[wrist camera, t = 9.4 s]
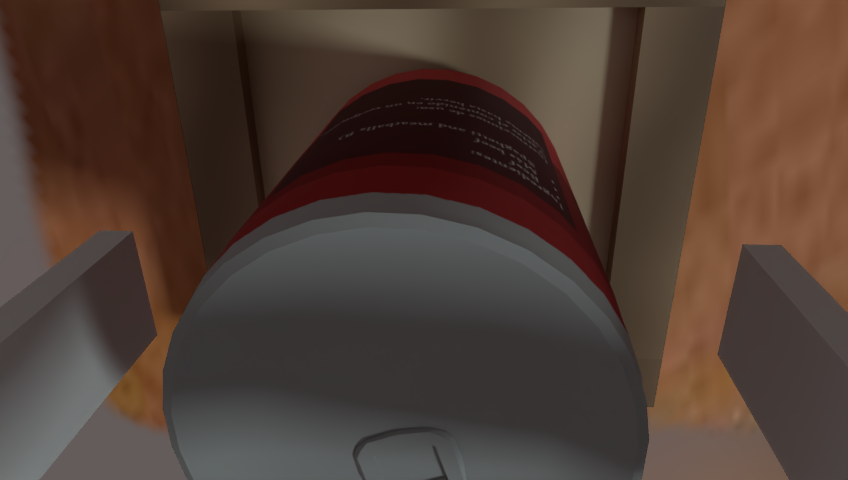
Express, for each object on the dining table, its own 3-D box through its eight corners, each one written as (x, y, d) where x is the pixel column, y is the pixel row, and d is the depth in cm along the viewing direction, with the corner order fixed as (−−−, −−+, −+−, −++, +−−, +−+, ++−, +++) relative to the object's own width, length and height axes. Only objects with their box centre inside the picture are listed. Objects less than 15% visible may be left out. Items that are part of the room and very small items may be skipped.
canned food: (404, 336, 22) (347, 659, 12) (264, 147, 19) (46, 361, 10) (607, 236, 20) (739, 529, 10) (480, 8, 17) (487, 98, 7)
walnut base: (692, -77, 19) (741, -82, 15) (629, 343, 25) (653, 406, 22) (202, -69, 20) (145, -71, 16) (261, 332, 26) (229, 391, 23)
